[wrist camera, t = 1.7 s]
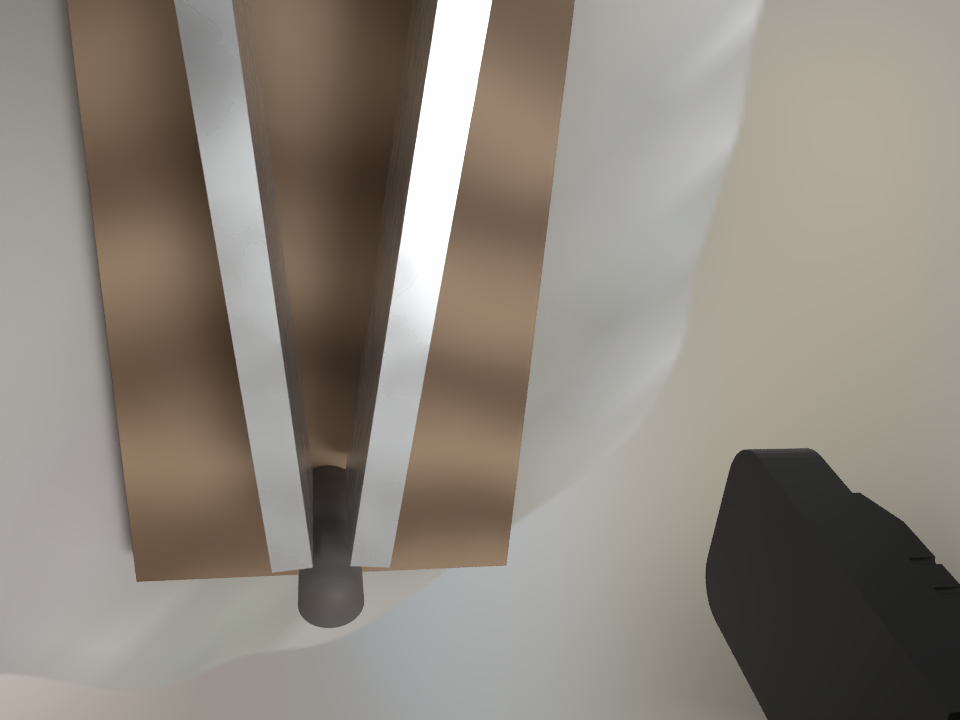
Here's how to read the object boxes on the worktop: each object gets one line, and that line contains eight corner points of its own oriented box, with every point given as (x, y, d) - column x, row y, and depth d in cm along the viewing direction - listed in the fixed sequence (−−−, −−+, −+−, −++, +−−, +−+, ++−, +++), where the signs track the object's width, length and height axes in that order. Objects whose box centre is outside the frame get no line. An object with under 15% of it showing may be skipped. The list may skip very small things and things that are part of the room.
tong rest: (499, 541, 38) (538, 682, 31) (143, 555, 35) (104, 711, 29) (603, -370, 24) (713, -459, 17) (28, -453, 21) (-98, -595, 15)
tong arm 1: (396, 473, 32) (409, 568, 28) (345, 470, 32) (350, 566, 27) (504, -147, 24) (547, -150, 19) (435, -162, 23) (464, -169, 19)
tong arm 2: (312, 471, 32) (312, 567, 27) (260, 477, 31) (251, 575, 27) (225, -183, 22) (203, -195, 18) (148, -182, 22) (108, -194, 18)
